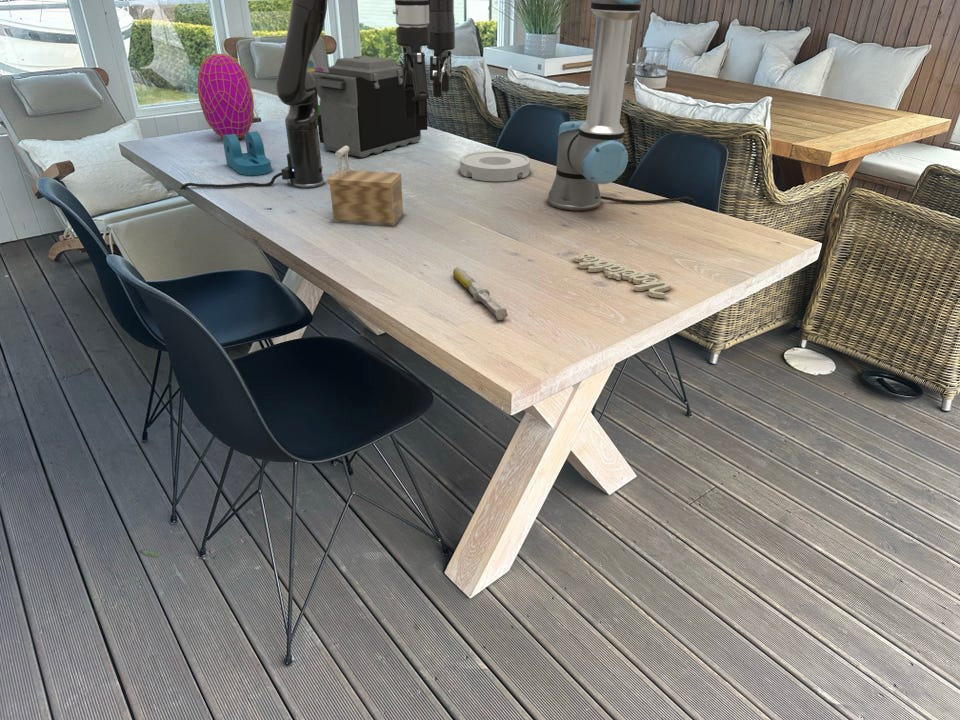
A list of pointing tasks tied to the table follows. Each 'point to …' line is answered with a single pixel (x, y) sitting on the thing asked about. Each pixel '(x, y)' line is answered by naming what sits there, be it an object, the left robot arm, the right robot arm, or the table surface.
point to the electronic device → (363, 106)
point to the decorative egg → (225, 95)
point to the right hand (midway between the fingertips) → (416, 123)
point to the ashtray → (495, 165)
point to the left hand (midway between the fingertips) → (441, 94)
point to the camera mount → (246, 154)
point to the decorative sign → (625, 274)
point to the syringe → (479, 293)
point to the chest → (367, 204)
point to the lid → (361, 175)
